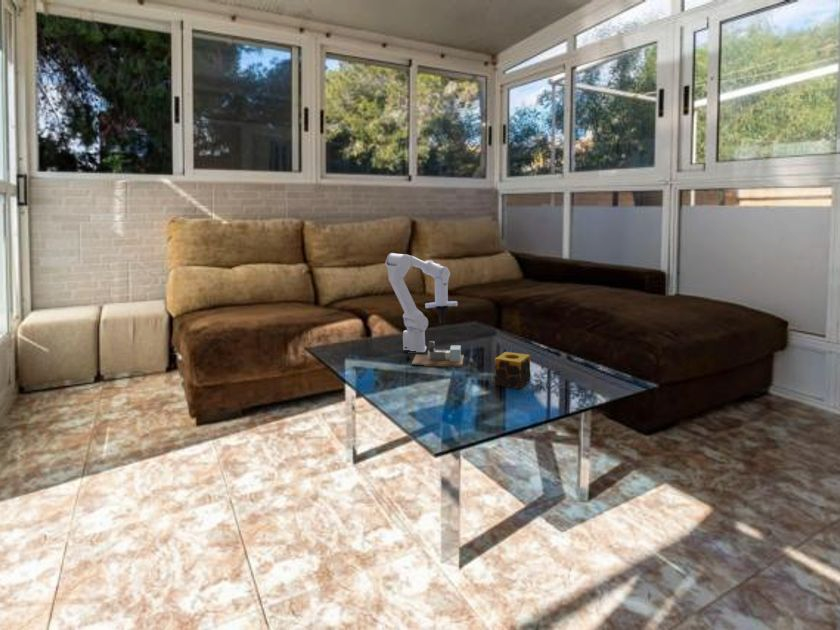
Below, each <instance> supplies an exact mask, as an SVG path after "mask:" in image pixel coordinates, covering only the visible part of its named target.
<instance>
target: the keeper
mask: <svg viewBox="0 0 840 630" xmlns="http://www.w3.org/2000/svg"><path fill="white" fill-rule="evenodd" d="M449 350H450V362H460V360H461V355H462V346H461V345H458V344H456V345H453V344H452V345H450V347H449Z"/></svg>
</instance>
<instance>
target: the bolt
mask: <svg viewBox="0 0 840 630" xmlns="http://www.w3.org/2000/svg"><path fill="white" fill-rule="evenodd" d="M435 349H436V348H435V341H433V340H430V341H428V351H427V355H428V359H430V352H445V360H450V349H446V350H435Z"/></svg>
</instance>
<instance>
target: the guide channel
mask: <svg viewBox="0 0 840 630" xmlns="http://www.w3.org/2000/svg"><path fill="white" fill-rule="evenodd" d="M435 350H447V349H446V348H435ZM430 361H445V352H430Z"/></svg>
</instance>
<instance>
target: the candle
mask: <svg viewBox="0 0 840 630" xmlns="http://www.w3.org/2000/svg"><path fill="white" fill-rule="evenodd" d="M494 364H495V365H494V366H495V367H494V377H493V379H494V380H493V381H494V383H493V384H494V385H495V386H499V387H504V388H511V387H513V388H512V389H516V388H517V389H516V390H522V389H523V388H524V387H526V385H527V384H528V383H529V381H530V382H531V355H530V354H526V353H518V352H509V351H504V352H502V353H501V354H500V355H498V356H497V357H495V358H494ZM527 382H528V383H527Z"/></svg>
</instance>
